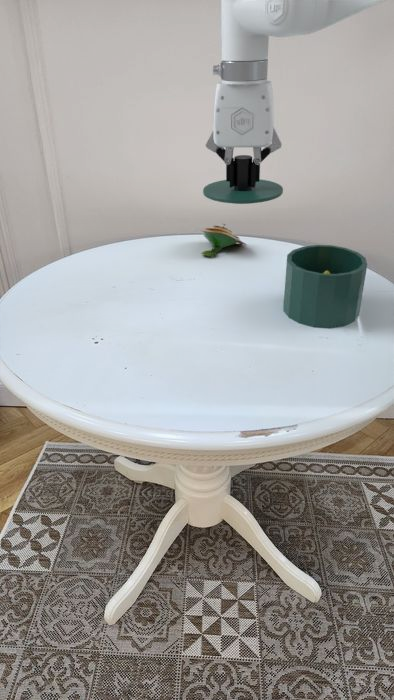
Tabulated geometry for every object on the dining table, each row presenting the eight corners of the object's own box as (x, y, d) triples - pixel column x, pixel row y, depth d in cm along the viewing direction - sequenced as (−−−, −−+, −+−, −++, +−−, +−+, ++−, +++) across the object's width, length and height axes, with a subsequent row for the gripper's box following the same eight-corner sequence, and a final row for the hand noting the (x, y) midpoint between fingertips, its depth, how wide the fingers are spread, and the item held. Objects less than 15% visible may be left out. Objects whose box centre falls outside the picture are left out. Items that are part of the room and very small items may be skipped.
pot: (354, 297, 103) (362, 246, 98) (361, 333, 92) (370, 277, 86) (283, 294, 105) (287, 243, 100) (282, 328, 94) (286, 273, 88)
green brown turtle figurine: (247, 265, 117) (258, 227, 116) (189, 248, 116) (199, 210, 115) (237, 269, 132) (246, 235, 131) (185, 254, 130) (194, 220, 130)
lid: (283, 185, 103) (285, 148, 100) (281, 207, 91) (283, 167, 87) (209, 184, 105) (208, 148, 102) (197, 206, 93) (196, 166, 90)
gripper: (191, 76, 86) (195, 190, 95) (295, 74, 83) (288, 191, 93) (198, 71, 92) (201, 179, 102) (295, 69, 89) (288, 180, 99)
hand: (242, 184), depth 97 cm, fingers closed on lid, 3 cm apart
